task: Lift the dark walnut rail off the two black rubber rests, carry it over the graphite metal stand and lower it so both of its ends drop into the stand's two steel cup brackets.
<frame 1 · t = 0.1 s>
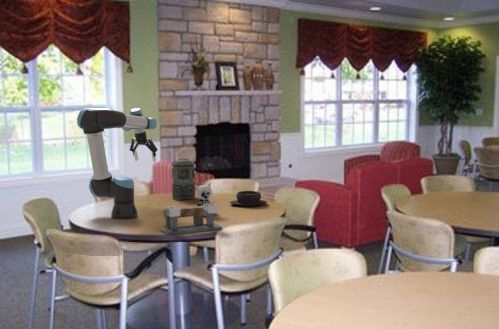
hand: (145, 160, 365), 28 cm above the table, tool tilted 20°, fingers open, 13 cm apart
decorative figurine: (204, 214, 324), on the table
bracket stand: (192, 230, 283), on the table
canister: (183, 198, 379), on the table
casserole: (248, 205, 354), on the table
rail: (184, 216, 294), point 5 cm above the table, touching rests
rests: (184, 225, 295), on the table
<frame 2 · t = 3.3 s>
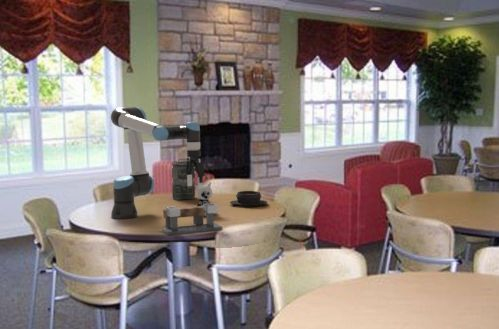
hand: (195, 187, 302), 20 cm above the table, tool pointing down, fingers open, 13 cm apart
nothing on the table moved.
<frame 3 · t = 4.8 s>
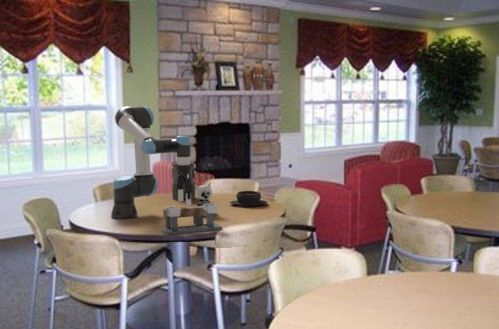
hand: (184, 203, 293), 12 cm above the table, tool pointing down, fingers open, 13 cm apart
nothing on the table moved.
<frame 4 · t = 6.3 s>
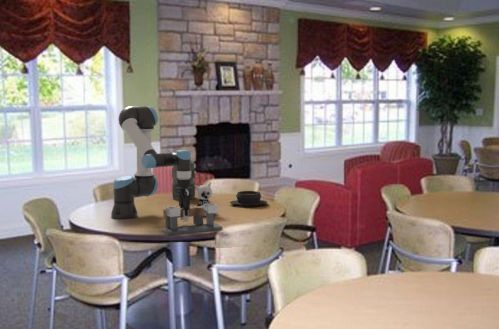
hand: (184, 220, 294), 3 cm above the table, tool pointing down, fingers closed on rail, 4 cm apart
rail: (184, 216, 294), point 5 cm above the table, touching gripper, rests
everything else where it was.
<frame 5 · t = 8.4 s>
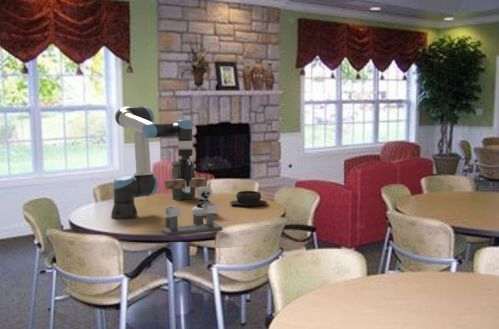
hand: (186, 191, 290), 19 cm above the table, tool pointing down, fingers closed on rail, 4 cm apart
rail: (186, 187, 290), point 21 cm above the table, touching gripper
everything else where it was.
when the fingers open (9 cm above the table, at t = 10.8 s): rail drops 1 cm, resting on bracket stand.
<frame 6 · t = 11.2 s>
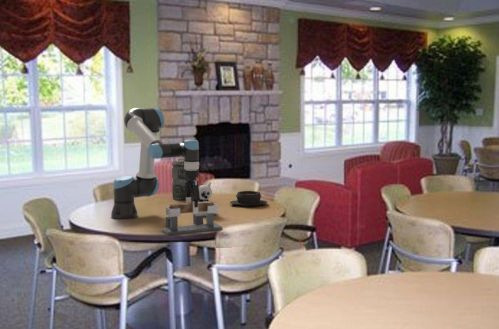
hand: (192, 211, 282), 10 cm above the table, tool pointing down, fingers open, 10 cm apart
rail: (192, 211, 282), point 10 cm above the table, touching bracket stand
everything else where it was.
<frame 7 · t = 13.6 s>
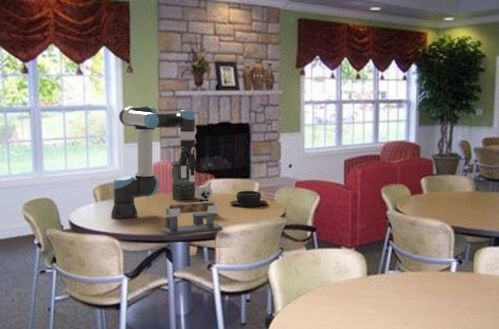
hand: (187, 179, 283), 27 cm above the table, tool pointing down, fingers open, 13 cm apart
nothing on the table moved.
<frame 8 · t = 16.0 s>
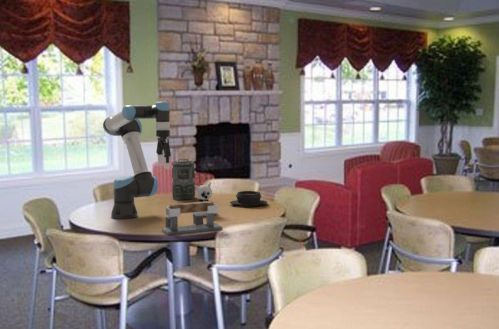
hand: (163, 167, 302), 31 cm above the table, tool pointing down, fingers open, 13 cm apart
nothing on the table moved.
at the end: rail 0.0 cm off-centre on the bracket stand, point 10.0 cm above the bracket stand's base; rail tilted 0°; the gripper is holding nothing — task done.
